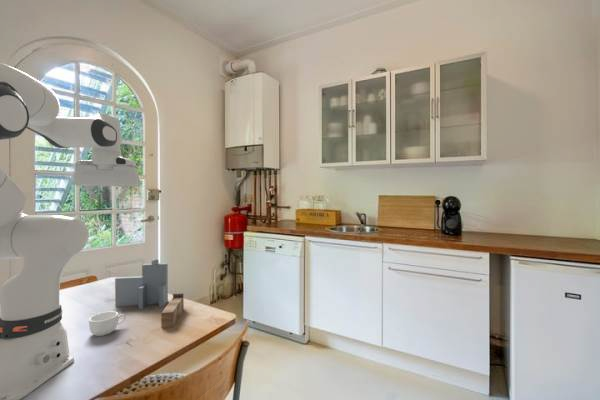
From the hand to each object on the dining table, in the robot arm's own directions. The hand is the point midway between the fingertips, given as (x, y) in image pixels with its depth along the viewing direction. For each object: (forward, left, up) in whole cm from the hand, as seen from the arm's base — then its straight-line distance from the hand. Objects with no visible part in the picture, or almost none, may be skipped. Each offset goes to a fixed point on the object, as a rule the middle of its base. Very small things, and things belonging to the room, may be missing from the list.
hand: (107, 199), depth 102 cm
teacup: (-13, -6, -43) cm, 45 cm away
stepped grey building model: (+8, -8, -43) cm, 44 cm away
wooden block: (-6, -24, -43) cm, 49 cm away
